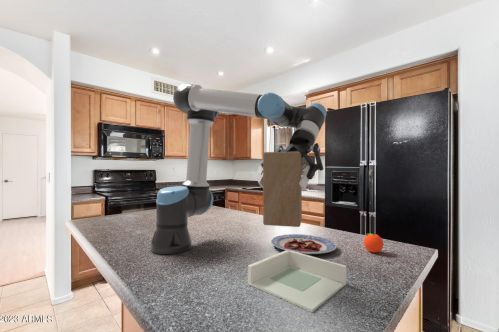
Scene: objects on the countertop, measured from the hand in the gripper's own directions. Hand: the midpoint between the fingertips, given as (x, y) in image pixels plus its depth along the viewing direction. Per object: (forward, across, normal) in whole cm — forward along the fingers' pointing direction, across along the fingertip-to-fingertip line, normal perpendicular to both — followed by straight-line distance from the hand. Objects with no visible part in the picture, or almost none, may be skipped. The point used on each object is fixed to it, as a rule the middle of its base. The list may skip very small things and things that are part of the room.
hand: (279, 185), depth 70 cm
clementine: (-13, -13, -52) cm, 55 cm away
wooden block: (+6, 0, -9) cm, 11 cm away
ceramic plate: (-4, +9, -42) cm, 44 cm away
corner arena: (+18, -5, -19) cm, 27 cm away
